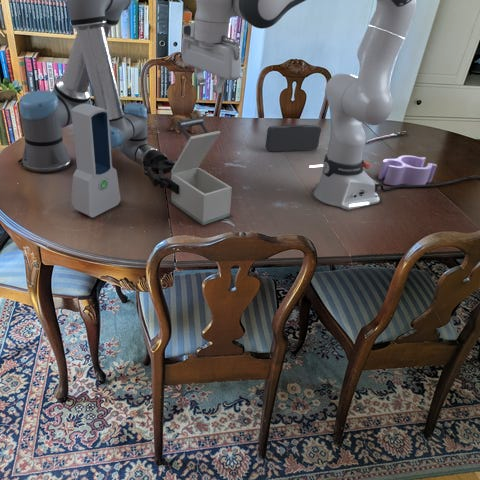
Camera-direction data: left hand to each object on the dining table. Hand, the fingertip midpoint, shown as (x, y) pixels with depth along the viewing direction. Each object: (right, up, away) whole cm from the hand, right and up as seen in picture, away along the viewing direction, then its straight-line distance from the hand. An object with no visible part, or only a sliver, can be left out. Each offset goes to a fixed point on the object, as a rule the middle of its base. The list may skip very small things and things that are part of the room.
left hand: (192, 185), depth 142 cm
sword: (+82, +30, +72) cm, 113 cm away
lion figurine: (-9, +30, +56) cm, 64 cm away
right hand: (+6, +23, -20) cm, 31 cm away
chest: (+2, -7, +1) cm, 7 cm away
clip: (+76, +6, +34) cm, 84 cm away
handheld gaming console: (+36, +20, +49) cm, 64 cm away
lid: (+2, +9, -6) cm, 11 cm away
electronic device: (-28, -7, -4) cm, 29 cm away
